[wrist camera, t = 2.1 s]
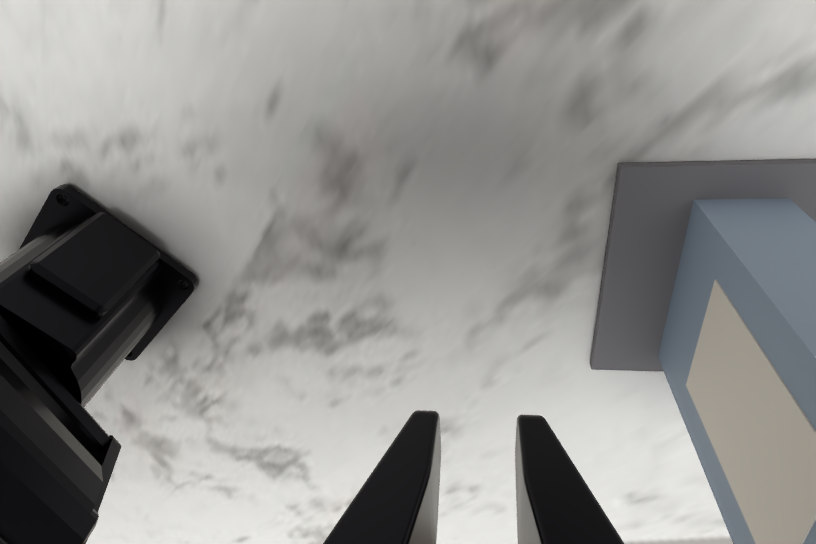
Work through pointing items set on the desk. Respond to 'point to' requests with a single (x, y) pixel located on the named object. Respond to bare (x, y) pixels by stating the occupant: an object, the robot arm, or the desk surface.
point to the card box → (749, 362)
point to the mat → (670, 243)
